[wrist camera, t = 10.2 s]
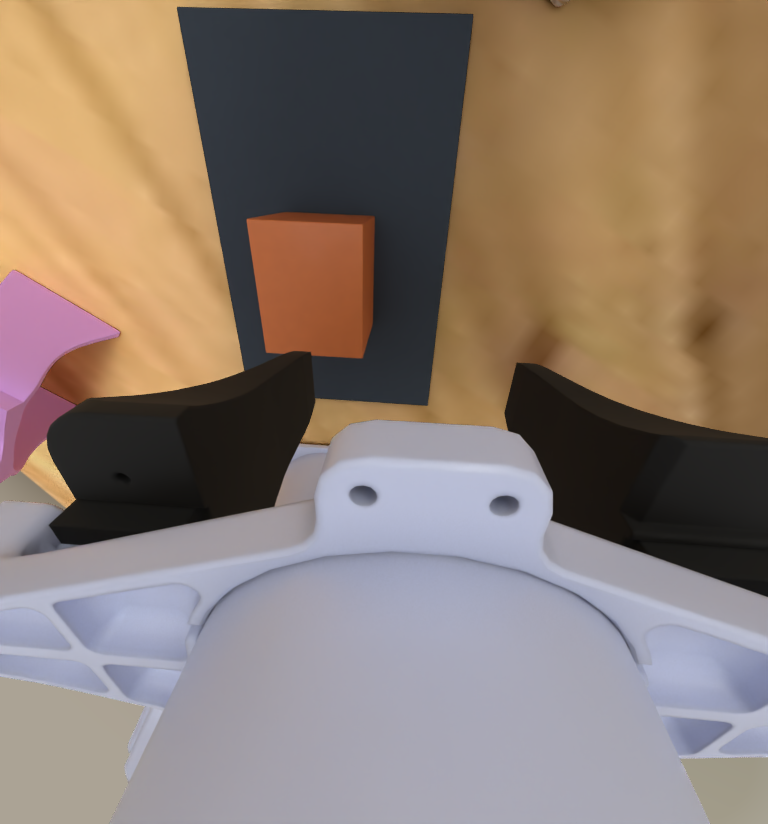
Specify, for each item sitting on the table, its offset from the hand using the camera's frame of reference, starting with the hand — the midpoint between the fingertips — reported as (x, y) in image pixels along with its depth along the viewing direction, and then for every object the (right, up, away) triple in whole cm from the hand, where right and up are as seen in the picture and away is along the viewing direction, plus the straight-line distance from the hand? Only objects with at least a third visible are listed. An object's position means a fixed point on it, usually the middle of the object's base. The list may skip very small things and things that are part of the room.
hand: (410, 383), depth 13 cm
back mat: (-4, +8, +7) cm, 11 cm away
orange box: (-4, +7, +7) cm, 10 cm away
